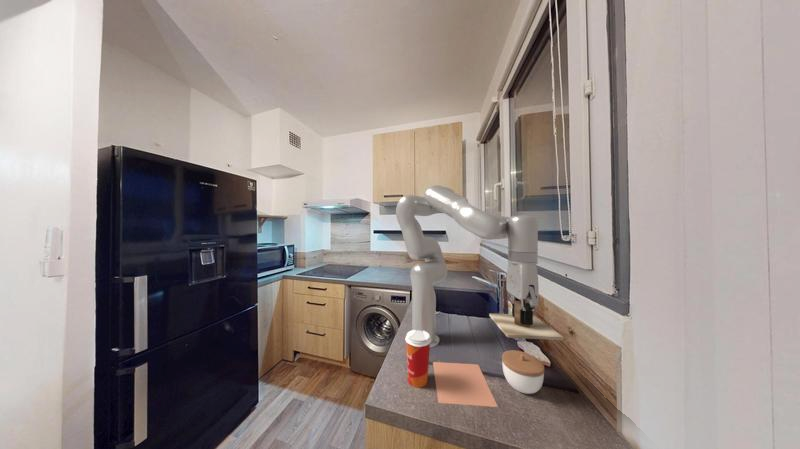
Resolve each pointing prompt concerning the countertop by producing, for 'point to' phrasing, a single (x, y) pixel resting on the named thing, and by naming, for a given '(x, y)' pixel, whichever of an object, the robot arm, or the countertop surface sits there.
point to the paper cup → (417, 357)
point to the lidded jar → (523, 371)
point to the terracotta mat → (462, 385)
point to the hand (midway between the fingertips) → (522, 320)
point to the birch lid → (524, 326)
